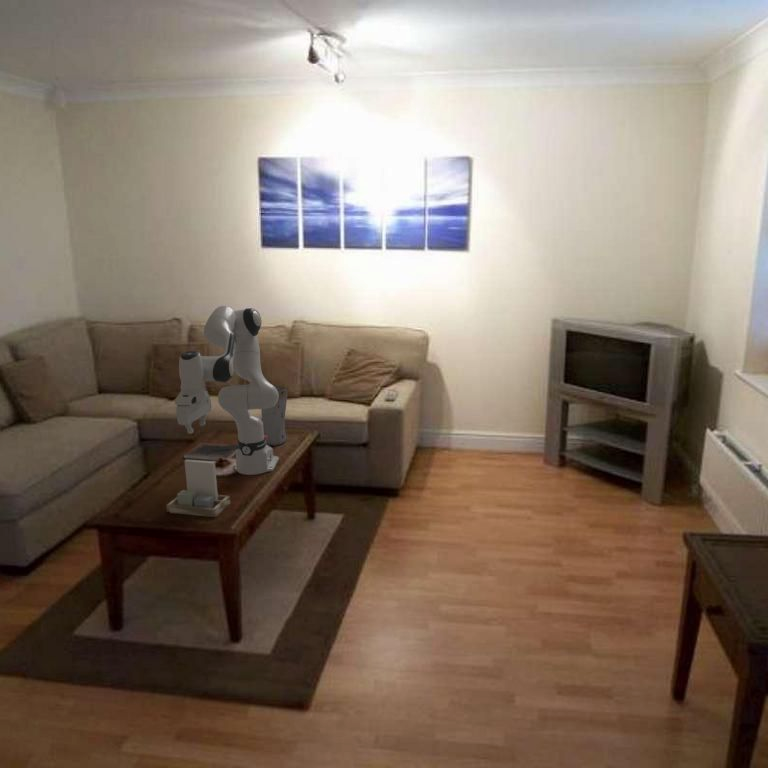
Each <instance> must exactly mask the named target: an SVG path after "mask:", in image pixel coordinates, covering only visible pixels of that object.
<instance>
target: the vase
mask: <svg viewBox="0 0 768 768" xmlns="http://www.w3.org/2000/svg"><path fill="white" fill-rule="evenodd" d="M273 386H274V387H275V388H276V389H277V391H278V395H279V398H278V402H277V403H276V405H275V406H274V407H270V408H266V409H260V410H261V421H262V422H263V430H264V436H266V435H267V436H268V439H267V440H266V444H267V445H268V446H270V447H279V446H282V445H283V444H284V443H285V442H287V435H286V429H285V427H286V424H285V423H286V422H285V420H286V419H285V418H286V409H287V402H288V401H287V400H288V387H287V386H281V385H280V384H279V385H278V384H277V385H274V384H273Z"/></svg>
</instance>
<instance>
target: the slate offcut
mask: <svg viewBox="0 0 768 768" xmlns="http://www.w3.org/2000/svg"><path fill="white" fill-rule="evenodd" d="M194 506H195V507H205V508H214V501H213V496H202V495H199V496H197V497H196V498H195V499H194Z"/></svg>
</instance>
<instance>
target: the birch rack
mask: <svg viewBox="0 0 768 768" xmlns="http://www.w3.org/2000/svg"><path fill="white" fill-rule="evenodd" d="M213 501H214V508H205V507H194V506H184V505H178V500H177V496H176V497H175V498H173V499H172V500H171V501H169V503H167V504H166V507H165V508H166V513H167V512H170V513H169V514H177V515H179V514H180V515H191V516H202V517H211V518H216V517H217V516H218V515H219V514H221V513H222V512H223V511H224V510H225V509H226V508H227V507H228V506H229V505H230V504H231V495H224V494H218V500H214V499H213Z"/></svg>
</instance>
